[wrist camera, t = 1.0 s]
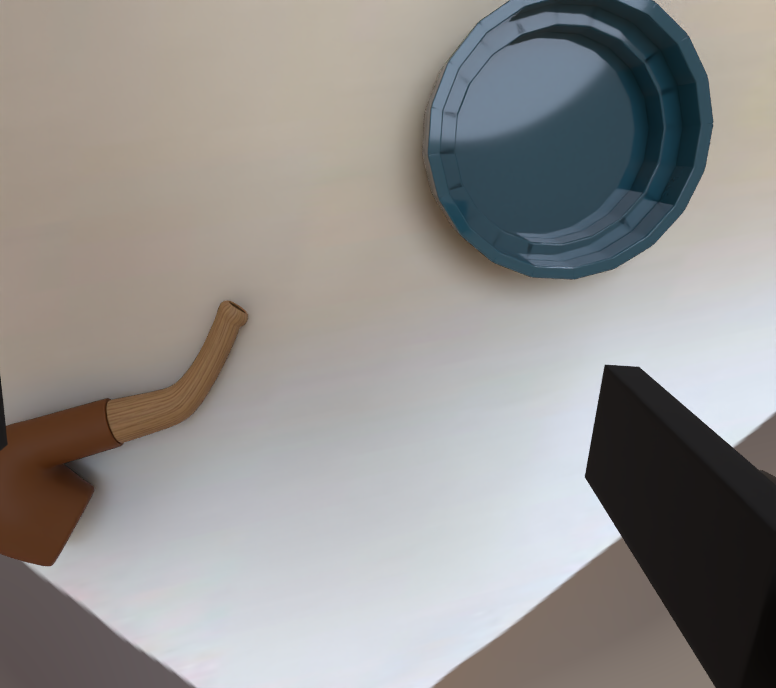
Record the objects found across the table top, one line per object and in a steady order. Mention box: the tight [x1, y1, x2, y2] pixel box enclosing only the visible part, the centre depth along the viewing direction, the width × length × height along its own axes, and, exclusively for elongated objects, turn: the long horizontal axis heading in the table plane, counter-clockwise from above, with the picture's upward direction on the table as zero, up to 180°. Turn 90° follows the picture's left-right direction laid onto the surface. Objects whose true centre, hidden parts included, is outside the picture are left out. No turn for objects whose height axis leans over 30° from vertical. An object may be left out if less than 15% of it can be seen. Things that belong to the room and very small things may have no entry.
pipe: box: [0, 301, 248, 566], centre depth 36 cm, size 7×19×6 cm, turn 136°
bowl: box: [422, 0, 713, 279], centre depth 33 cm, size 13×13×4 cm
